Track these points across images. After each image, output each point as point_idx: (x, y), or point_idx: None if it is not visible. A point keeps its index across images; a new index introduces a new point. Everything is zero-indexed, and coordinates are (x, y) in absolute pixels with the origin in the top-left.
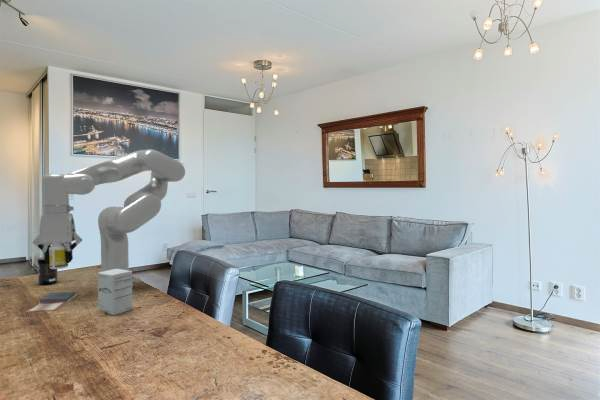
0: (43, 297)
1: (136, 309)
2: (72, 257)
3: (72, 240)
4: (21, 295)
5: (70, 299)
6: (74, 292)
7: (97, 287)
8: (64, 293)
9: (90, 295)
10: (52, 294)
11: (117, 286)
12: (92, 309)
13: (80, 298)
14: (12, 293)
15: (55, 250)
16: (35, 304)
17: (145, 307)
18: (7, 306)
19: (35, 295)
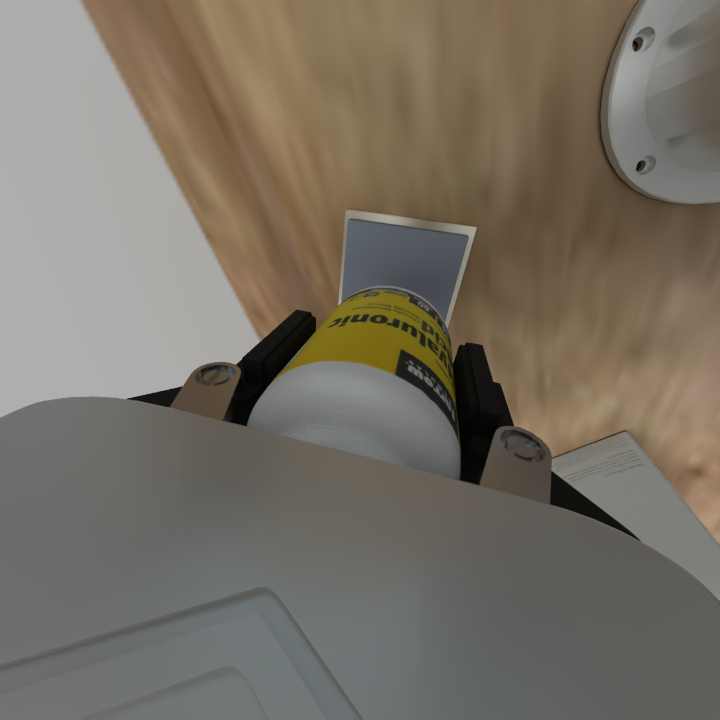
0: (343, 300)
1: (673, 486)
2: (500, 390)
3: (598, 540)
4: (190, 88)
5: (451, 313)
6: (466, 245)
7: (614, 87)
8: (419, 259)
9: (542, 219)
10: (367, 260)
11: None
12: (529, 431)
13: (490, 266)
14: (114, 6)
15: None
16: None
17: (715, 482)
18: (237, 287)
19: (261, 114)
